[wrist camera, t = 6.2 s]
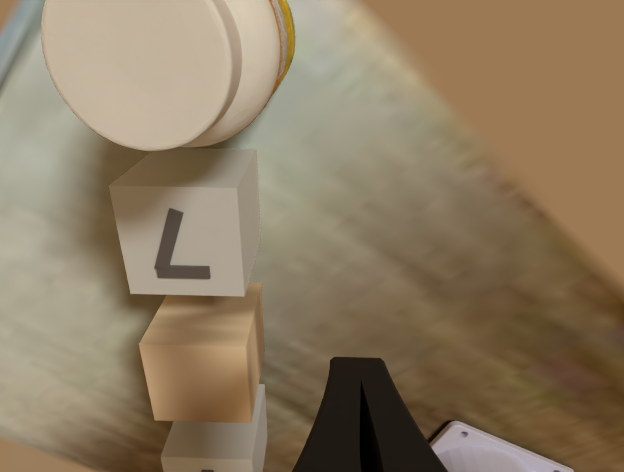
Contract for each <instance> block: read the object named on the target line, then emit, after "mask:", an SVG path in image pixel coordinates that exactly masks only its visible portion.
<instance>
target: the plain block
mask: <svg viewBox="0 0 624 472" xmlns="http://www.w3.org/2000/svg"><path fill="white" fill-rule="evenodd" d="M139 348H140V353H141V357H142V362H143V367H144V372H145V376H146V381H147V386H148V391H149V396H150V400H151V405H152V410H153V415H154V419H155V420H157V421H191V422H225V423H252V417H253V412H254V406H255V401H256V395H257V390H258V384H259V379H260V373H261V368H262V362H263V357H264V351H265V349H264V329H263V309H262V288H261V283H248V286H247V290H246V293H245V297H243V296H202V295H166V297H165V299H164V300H163V302H162V304H161V306H160V307H159V309H158V311H157V313H156V315H155V316H154V318H153V320H152V322H151V323H150V325H149V327H148V329H147V330H146V332H145V334H144V336H143V338H142V339H141V341H140V343H139Z"/></svg>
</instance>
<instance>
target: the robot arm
mask: <svg viewBox="0 0 624 472" xmlns="http://www.w3.org/2000/svg"><path fill="white" fill-rule="evenodd" d="M292 472H574V471H573V470H572V469H571V468H569V467H566V466H564V465H562V464H559V463H557V462H554V461H552V460H550V459H547V458H545V457H543V456H540V455H538V454H535V453H533V452H531V451H528V450H526V449H524V448H521V447H519V446H516V445H514V444H512V443H509V442H507V441H505V440H502V439H500V438H497V437H495V436H493V435H490V434H488V433H486V432H483V431H481V430H478V429H476V428H474V427H471V426H469V425H467V424H464V423H462V422H459V421H452V422H450V423H449V424H448V425H447V426H446V427H445V428H444V429H443V430H442V431H441V432H440V433H439V434H438V435H437V436H436V437H435V438H434V439H433V441H432V442H431V443H430V444H429V443H428V442H427V440H426V439H425V437H424V436H423V434H422V432H421V431H420V429H419V428H418V426H417V424H416V423H415V421H414V419H413V418H412V416H411V414H410V413H409V411H408V409H407V408H406V406H405V404H404V402H403V400H402V399H401V397H400V395H399V393H398V391H397V389H396V387H395V385H394V383H393V381H392V379H391V377H390V375H389V372H388V370H387V368H386V365H385V363H384V361H383V360H382V359H381V358H357V357H334V358H332V359H331V360H330V370H329V377H328V381H327V385H326V389H325V393H324V396H323V399H322V402H321V405H320V408H319V411H318V414H317V417H316V420H315V422H314V425H313V427H312V430H311V432H310V434H309V437H308V439H307V441H306V444H305V446H304V448H303V451H302V453H301V455H300V457H299V459H298V461H297V463H296V465H295V467H294V469H293V471H292Z"/></svg>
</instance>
